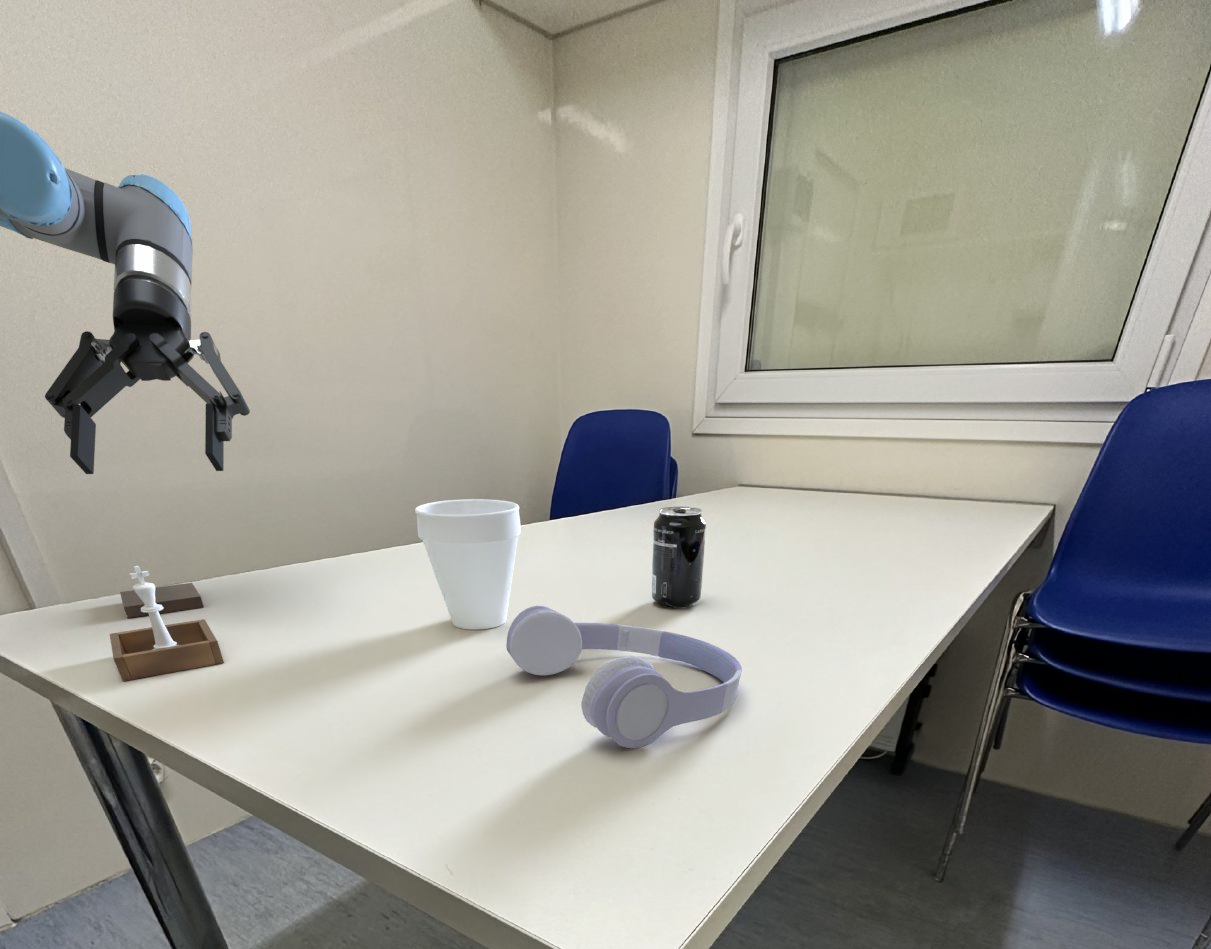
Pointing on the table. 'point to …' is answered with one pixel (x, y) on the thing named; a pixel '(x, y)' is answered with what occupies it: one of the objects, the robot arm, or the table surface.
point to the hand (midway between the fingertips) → (149, 464)
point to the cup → (472, 556)
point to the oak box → (164, 650)
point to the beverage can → (678, 556)
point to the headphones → (625, 673)
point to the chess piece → (152, 609)
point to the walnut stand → (164, 599)
